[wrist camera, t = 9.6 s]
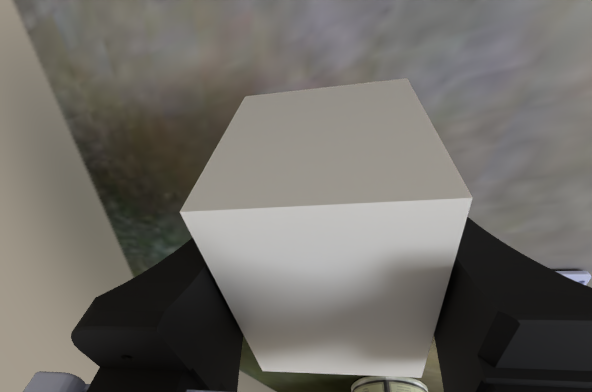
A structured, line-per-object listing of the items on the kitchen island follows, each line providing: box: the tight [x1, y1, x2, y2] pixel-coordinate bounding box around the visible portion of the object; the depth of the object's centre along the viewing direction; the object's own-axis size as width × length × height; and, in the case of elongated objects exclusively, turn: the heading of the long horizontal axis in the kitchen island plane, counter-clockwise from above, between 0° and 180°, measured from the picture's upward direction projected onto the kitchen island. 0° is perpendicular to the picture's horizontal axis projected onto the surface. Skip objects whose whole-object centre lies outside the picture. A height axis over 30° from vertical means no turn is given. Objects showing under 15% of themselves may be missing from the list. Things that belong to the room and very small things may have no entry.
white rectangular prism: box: [180, 78, 472, 378], centre depth 11 cm, size 9×6×7 cm
